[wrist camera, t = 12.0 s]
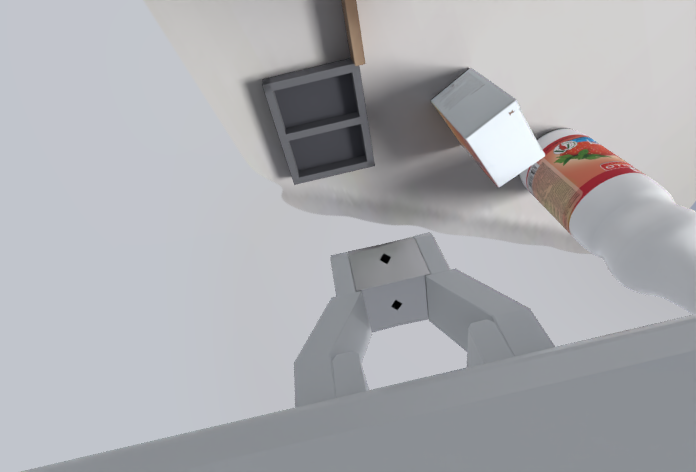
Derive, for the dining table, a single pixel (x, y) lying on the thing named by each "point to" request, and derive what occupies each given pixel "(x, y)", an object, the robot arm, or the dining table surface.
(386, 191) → the dining table surface
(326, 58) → the dining table surface
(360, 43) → the lane walls
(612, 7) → the dining table surface
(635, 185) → the fruit juice
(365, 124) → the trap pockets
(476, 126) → the small box
